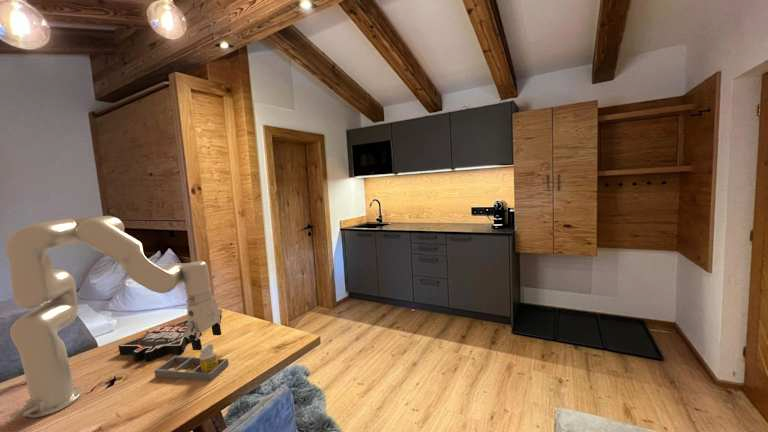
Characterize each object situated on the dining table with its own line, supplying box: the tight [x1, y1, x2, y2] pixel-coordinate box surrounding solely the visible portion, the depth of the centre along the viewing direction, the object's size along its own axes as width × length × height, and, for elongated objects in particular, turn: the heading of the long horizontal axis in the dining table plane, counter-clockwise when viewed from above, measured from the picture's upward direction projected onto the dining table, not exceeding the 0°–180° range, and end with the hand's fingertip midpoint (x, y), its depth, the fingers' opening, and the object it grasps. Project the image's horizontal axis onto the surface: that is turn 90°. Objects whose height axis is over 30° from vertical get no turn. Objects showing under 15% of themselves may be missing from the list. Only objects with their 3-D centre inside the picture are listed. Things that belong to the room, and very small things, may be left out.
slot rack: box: [153, 355, 230, 382], centre depth 114 cm, size 9×23×3 cm, turn 80°
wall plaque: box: [118, 318, 203, 363], centre depth 137 cm, size 28×4×30 cm
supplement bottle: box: [199, 344, 218, 372], centre depth 112 cm, size 5×5×10 cm
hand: (207, 342), depth 111 cm, fingers open, 9 cm apart
